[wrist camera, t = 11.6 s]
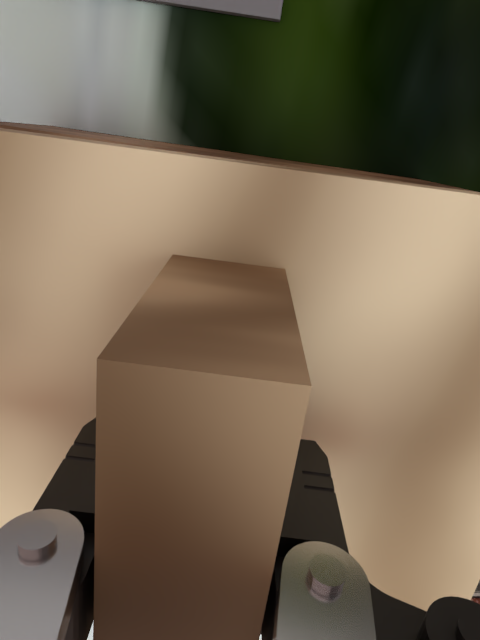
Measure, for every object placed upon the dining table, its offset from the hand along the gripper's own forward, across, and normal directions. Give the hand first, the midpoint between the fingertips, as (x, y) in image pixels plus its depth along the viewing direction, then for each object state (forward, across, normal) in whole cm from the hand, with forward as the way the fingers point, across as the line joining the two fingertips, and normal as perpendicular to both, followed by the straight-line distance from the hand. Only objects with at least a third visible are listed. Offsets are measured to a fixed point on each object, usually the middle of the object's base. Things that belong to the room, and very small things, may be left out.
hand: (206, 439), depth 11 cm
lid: (+2, 0, 0) cm, 2 cm away
